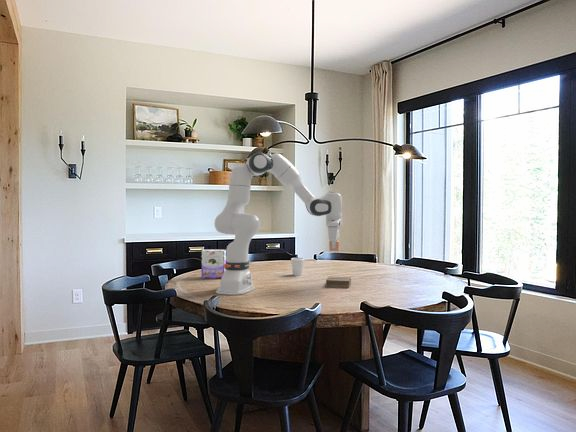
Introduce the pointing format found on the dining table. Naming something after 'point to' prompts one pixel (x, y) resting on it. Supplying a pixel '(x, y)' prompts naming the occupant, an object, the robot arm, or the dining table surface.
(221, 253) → the candy box
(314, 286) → the dining table surface
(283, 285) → the dining table surface
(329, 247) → the terracotta cube
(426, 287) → the dining table surface
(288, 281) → the dining table surface
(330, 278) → the walnut block
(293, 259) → the dixie cup
